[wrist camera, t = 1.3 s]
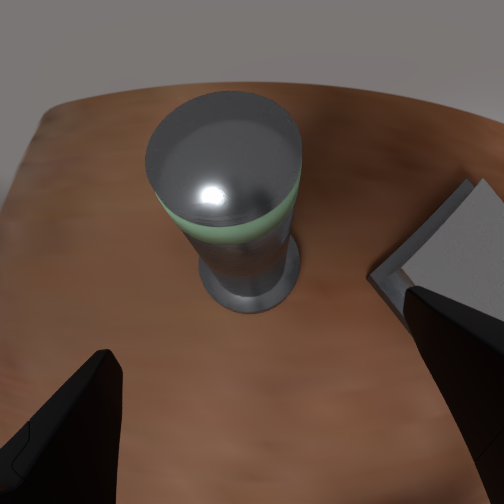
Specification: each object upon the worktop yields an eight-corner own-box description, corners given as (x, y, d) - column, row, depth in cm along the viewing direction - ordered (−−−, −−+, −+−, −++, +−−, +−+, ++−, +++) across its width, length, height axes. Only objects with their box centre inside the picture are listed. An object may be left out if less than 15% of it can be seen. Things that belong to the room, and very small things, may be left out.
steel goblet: (318, 273, 22) (379, 162, 9) (239, 334, 21) (188, 304, 8) (258, 203, 24) (245, 52, 11) (183, 257, 23) (90, 144, 10)
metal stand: (541, 294, 20) (564, 286, 17) (464, 409, 18) (489, 414, 15) (461, 183, 24) (479, 163, 21) (365, 278, 22) (381, 265, 19)
